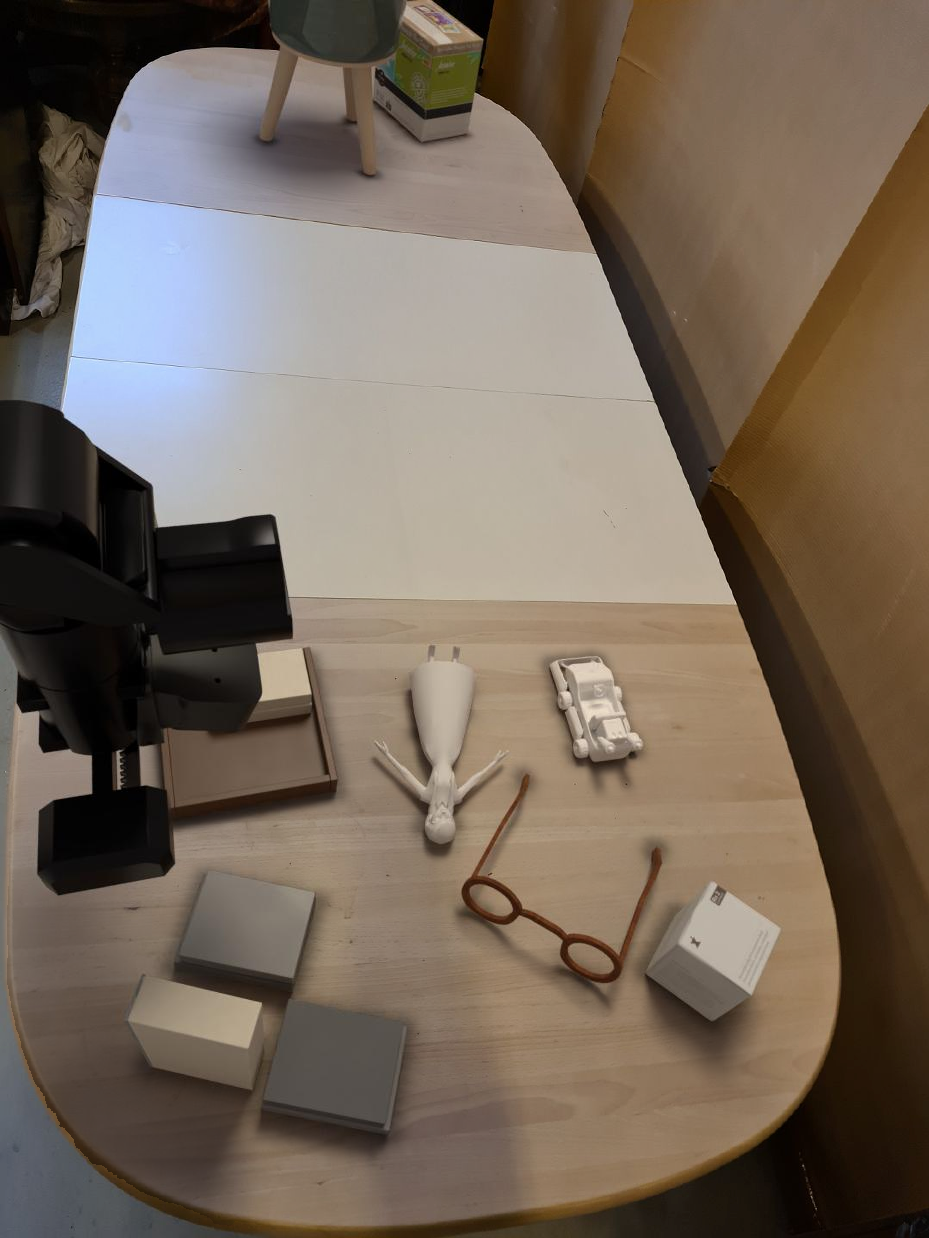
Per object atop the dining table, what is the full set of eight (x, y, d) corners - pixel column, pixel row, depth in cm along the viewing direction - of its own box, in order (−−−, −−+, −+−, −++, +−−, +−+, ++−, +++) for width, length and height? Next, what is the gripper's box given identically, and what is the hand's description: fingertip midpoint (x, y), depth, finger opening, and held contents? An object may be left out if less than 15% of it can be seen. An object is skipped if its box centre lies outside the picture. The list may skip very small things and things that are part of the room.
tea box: (370, 101, 148) (378, 0, 137) (418, 94, 153) (430, -4, 141) (420, 144, 142) (433, 42, 131) (469, 135, 147) (486, 37, 135)
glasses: (454, 903, 69) (465, 880, 65) (524, 775, 77) (537, 748, 73) (605, 992, 67) (626, 974, 63) (661, 851, 74) (683, 827, 70)
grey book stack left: (175, 968, 63) (171, 955, 60) (205, 880, 67) (202, 865, 64) (292, 992, 63) (293, 981, 61) (315, 904, 67) (317, 890, 65)
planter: (362, 106, 147) (380, -148, 121) (423, 172, 137) (458, -89, 111) (236, 115, 138) (227, -157, 112) (293, 187, 128) (297, -94, 102)
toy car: (602, 658, 86) (615, 632, 82) (643, 768, 79) (659, 745, 76) (543, 664, 84) (554, 637, 81) (580, 777, 77) (594, 753, 74)
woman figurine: (511, 642, 79) (518, 838, 69) (501, 667, 83) (506, 855, 73) (381, 631, 77) (370, 829, 68) (377, 656, 81) (365, 848, 71)
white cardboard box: (711, 1023, 67) (753, 998, 61) (642, 973, 68) (676, 943, 62) (742, 958, 70) (784, 928, 64) (675, 911, 71) (711, 878, 66)
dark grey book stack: (261, 1109, 58) (260, 1102, 56) (288, 1006, 62) (288, 995, 60) (387, 1134, 59) (391, 1128, 56) (405, 1030, 63) (410, 1020, 60)
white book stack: (209, 728, 73) (207, 710, 71) (203, 678, 76) (200, 659, 74) (311, 713, 76) (312, 695, 74) (301, 665, 79) (302, 646, 76)
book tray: (169, 820, 69) (166, 809, 67) (156, 679, 76) (153, 666, 74) (336, 790, 73) (338, 779, 71) (309, 659, 80) (310, 646, 78)
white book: (149, 1066, 59) (123, 1020, 48) (164, 1026, 60) (142, 973, 50) (252, 1090, 59) (248, 1049, 49) (264, 1050, 60) (262, 1002, 50)
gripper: (267, 786, 40) (279, 902, 52) (228, 490, 50) (246, 645, 62) (-3, 831, 37) (78, 942, 49) (14, 507, 47) (78, 667, 60)
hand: (131, 783), depth 55 cm, fingers open, 9 cm apart
